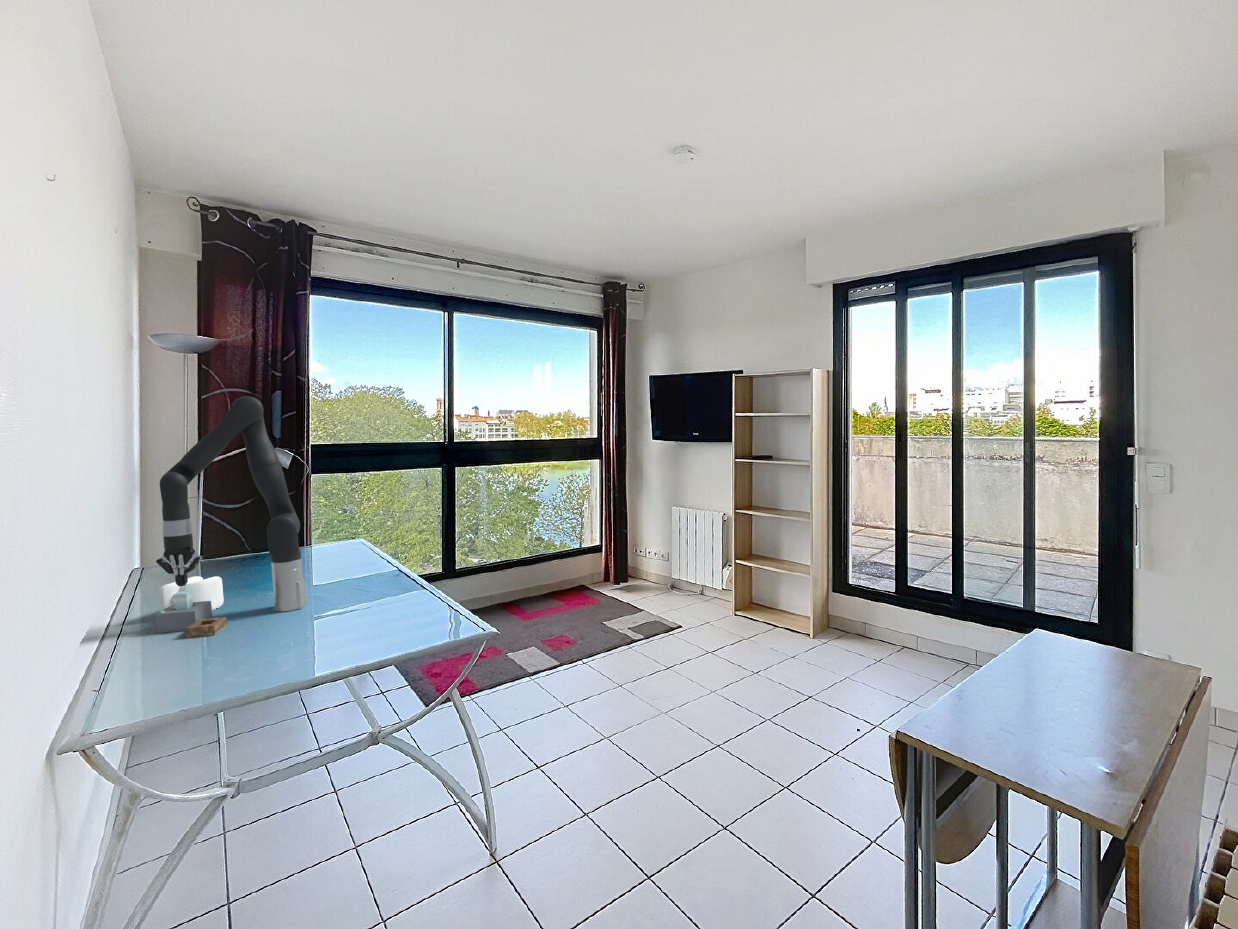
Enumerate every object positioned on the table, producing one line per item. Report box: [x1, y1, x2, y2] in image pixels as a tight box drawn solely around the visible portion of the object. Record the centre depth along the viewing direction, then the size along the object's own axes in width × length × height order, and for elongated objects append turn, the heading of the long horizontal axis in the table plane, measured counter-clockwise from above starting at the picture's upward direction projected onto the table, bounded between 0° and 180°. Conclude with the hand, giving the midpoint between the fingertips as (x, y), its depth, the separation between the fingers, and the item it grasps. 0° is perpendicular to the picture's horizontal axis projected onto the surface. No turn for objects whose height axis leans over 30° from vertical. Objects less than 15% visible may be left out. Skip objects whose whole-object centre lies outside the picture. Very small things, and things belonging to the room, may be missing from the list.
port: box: [154, 601, 213, 634], centre depth 189 cm, size 11×11×6 cm
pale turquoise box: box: [174, 591, 193, 610], centre depth 188 cm, size 4×4×10 cm
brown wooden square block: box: [184, 616, 227, 639], centre depth 182 cm, size 8×8×3 cm
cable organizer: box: [158, 575, 225, 612], centre depth 201 cm, size 15×11×12 cm
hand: (181, 585), depth 188 cm, fingers closed
